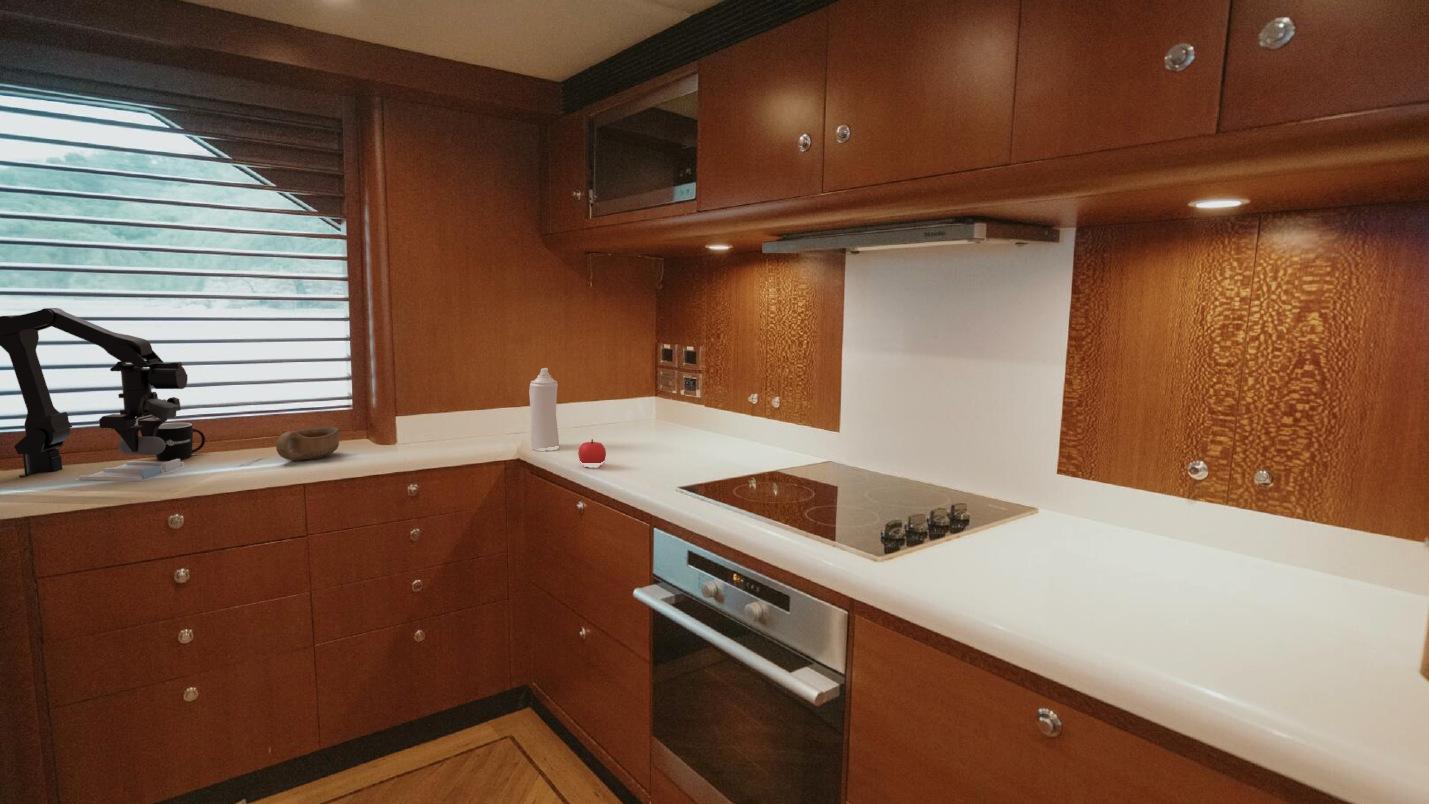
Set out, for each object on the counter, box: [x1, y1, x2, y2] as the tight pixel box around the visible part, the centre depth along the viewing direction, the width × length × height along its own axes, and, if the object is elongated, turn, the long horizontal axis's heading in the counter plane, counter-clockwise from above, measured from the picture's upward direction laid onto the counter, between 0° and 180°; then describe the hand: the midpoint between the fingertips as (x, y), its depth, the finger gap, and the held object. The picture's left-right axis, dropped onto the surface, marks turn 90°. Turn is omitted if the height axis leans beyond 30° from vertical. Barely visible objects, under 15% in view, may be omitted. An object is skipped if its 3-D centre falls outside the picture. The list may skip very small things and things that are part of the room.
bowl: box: [275, 426, 340, 461], centre depth 206 cm, size 18×14×10 cm
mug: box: [155, 422, 206, 462], centre depth 199 cm, size 12×9×10 cm
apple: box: [577, 438, 607, 463], centre depth 208 cm, size 8×8×8 cm
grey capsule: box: [117, 435, 165, 456], centre depth 185 cm, size 11×5×5 cm, turn 92°
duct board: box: [74, 459, 189, 482], centre depth 183 cm, size 16×16×3 cm
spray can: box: [528, 367, 560, 450], centre depth 229 cm, size 12×11×25 cm
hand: (142, 449), depth 186 cm, fingers closed on grey capsule, 5 cm apart
